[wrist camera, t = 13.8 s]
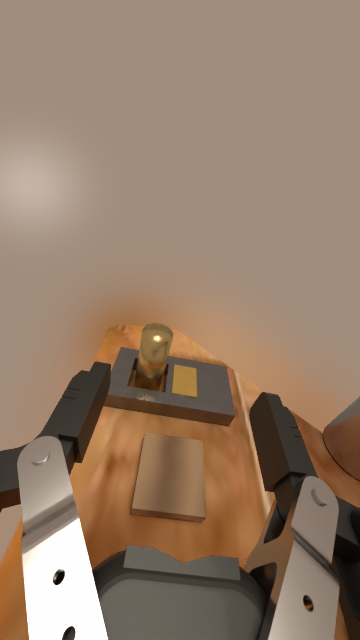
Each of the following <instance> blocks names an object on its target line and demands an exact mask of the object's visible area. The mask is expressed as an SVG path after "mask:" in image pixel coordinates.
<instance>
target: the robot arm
mask: <svg viewBox="0 0 360 640" xmlns="http://www.w3.org/2000/svg"><path fill="white" fill-rule="evenodd" d="M110 377H111V364H107V363H102V362H94V364H93V366H92V368H91V370H90V372H89V371H83V370H81V371H80V372H79V373H78V374H77V375H75V377H73V378H72V380H71V381H70V383H69V385H68V387H67V389H66V390H65V392H64V394H63V395H62V398H61V399H60V401H59V402H58V404H57V406H56V408H55V410H54V411H53V413H52V415H51V417H50V418H49V420H48V422H47V424H46V425H45V427H44V429H43V430H42V432H41V433H40V434H39V435H38V436H37V437H36V438H35V439H34V440H33V441H31V442H30V443H28V444H26V445H24V446H22V447H19V448H15V449H9V450H3V451H0V512H1V510H2V509H3V508H7V507H11V506H14V505H18V504H21V508H22V519H23V534H22V539H21V550H22V562H23V573H24V585H25V596H26V607H27V618H28V629H29V640H334V635H335V625H336V616H337V607H338V599H339V603H340V606H341V610H342V613H343V616H344V620H345V623H346V626H347V630H348V633H349V636H350V640H360V507H359V508H358V507H356V506H354V505H352V504H350V503H348V502H346V501H344V500H342V499H340V498H339V497H337V496H335V495H334V493H333V492H332V490H331V489H330V488H329V486H328V485H327V484H326V483H325V482H323V481H322V480H321V479H319V478H318V476H317V474H316V472H315V469H314V467H313V464H312V462H311V459H310V456H309V454H308V451H307V449H306V446H305V444H304V441H303V439H302V438H301V437H302V436H301V434H300V431H299V430H298V426H297V423H296V421H295V418H294V416H293V415H292V414H291V412H290V411H289V410H288V408H287V407H284V406H283V405H282V402H281V400H280V397H279V396H278V395H276V394H270V393H265V392H262V393H261V394H260V395H259V397H258V398H257V400H256V401H255V403H254V404H253V406H252V407H251V409H250V423H251V427H252V432H253V437H254V441H255V446H256V450H257V455H258V460H259V464H260V469H261V474H262V478H263V483H264V488H265V491H269V492H274V493H275V497H276V499H275V500H274V502H273V504H272V507H271V509H270V512H269V515H268V518H267V520H266V523H265V526H264V528H263V531H262V534H261V537H260V539H259V542H258V544H257V545H256V547H255V548H254V549H253V551H252V552H251V554H250V556H249V558H248V560H247V562H246V565H245V567H244V569H243V568H241V567H240V566H239V561H238V558H231V557H222V556H214V555H211V556H207V557H204V558H200V559H197V560H193V561H190V562H187V563H182V562H180V561H178V560H176V559H174V558H172V557H170V556H169V555H167V554H165V553H163V552H161V551H159V550H157V549H155V548H147V547H139V546H131V545H127V547H126V550H125V551H121V552H118V553H116V554H113V555H111V556H110V557H108V558H107V559H105V560H104V561H102V562H101V563H100V564H99V565H97V566H96V567H95V568H94V569H93V570H92V569H91V565H90V561H89V556H88V552H87V548H86V544H85V540H84V536H83V531H82V527H81V523H80V519H79V515H78V511H77V506H76V502H75V498H74V494H73V490H72V485H71V481H70V477H69V475H70V473H71V470H72V468H73V465H74V463H75V462H77V463H82V461H83V458H84V455H85V453H86V450H87V447H88V445H89V442H90V439H91V437H92V434H93V432H94V429H95V426H96V424H97V421H98V418H99V416H100V413H101V410H102V408H103V405H104V403H105V400H106V397H107V395H108V391H109V388H110ZM323 438H324V442H325V444H326V447H327V449H328V450H329V452H330V454H331V455H332V457H333V458H334V459H335V461H336V462H337V463H338V464H339V465H340V466H341V467H342V468H343V469H344V470H345V471H346V472H347V473H349V474H350V475H352V476H353V477H354V478H356V479H358V480H360V397H359V398H358V399H357V400H355V401H354V402H353V403H352V404H351V405H350V406H349V407H348V408H346V410H344V411H343V412H342V413H341V414H340V415H338V416H337V417H336V418H335V419H334V420H333V421H332V422H331V423H330V424H329V425H327V426H326V427H325V429H324V431H323Z"/></svg>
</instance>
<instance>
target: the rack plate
mask: <svg viewBox="0 0 360 640" xmlns="http://www.w3.org/2000/svg"><path fill="white" fill-rule="evenodd" d="M138 357H139V350H134V349H129V348H123V347H121V349H120V351H119V354H118V356H117V359H116V361H115V364H114V366H113V369H112V371H111V377H110V388H109V391H108V395H107V397H106V400H105V403H104V405H103V406H108V407H114V408H120V409H126V410H132V411H139V412H145V413H151V414H157V415H163V416H169V417H175V418H182V419H188V420H194V421H200V422H206V423H212V424H218V425H224V426H229V425H230V423H231V422H232V420H233V419H234V417H235V412H234V406H233V401H232V395H231V389H230V384H229V378H228V373H227V367H225V366H219V365H214V364H209V363H203V362H198V361H193V360H187V359H182V358H177V357H171V356H168V358H167V362H166V366H165V370H164V373H163V375H166V377H165V385H164V392H160V391H154V390H148V389H142V388H137V387H131V386H129V384H130V380H131V377H132V373H133V370H137V363H138Z"/></svg>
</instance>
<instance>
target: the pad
mask: <svg viewBox="0 0 360 640" xmlns="http://www.w3.org/2000/svg"><path fill="white" fill-rule="evenodd" d="M130 514H135V515H143V516H151V517H160V518H168V519H176V520H184V521H193V522H202V521H203V520H204V519H205V518H206V502H205V479H204V457H203V441H199V440H193V439H187V438H180V437H174V436H167V435H161V434H154V433H148V432H145V435H144V439H143V445H142V450H141V456H140V462H139V467H138V473H137V479H136V484H135V490H134V496H133V501H132V507H131V513H130Z"/></svg>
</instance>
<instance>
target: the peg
mask: <svg viewBox="0 0 360 640" xmlns="http://www.w3.org/2000/svg"><path fill="white" fill-rule="evenodd" d="M172 339H173V332H172V331H171V329H170V328H168V327H167V326H164V325H162V324H157V323H155V324H149V325H146V326H145V327H144V328H143V330H142V337H141V343H140V350H139V357H138V363H137V370H136V376H135V383H134V387H137V388H142V389H148V390H154V391H159V389H160V385H161V381H162V377H163V373H164V370H165V366H166V362H167V358H168V354H169V350H170V346H171V342H172Z"/></svg>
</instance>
